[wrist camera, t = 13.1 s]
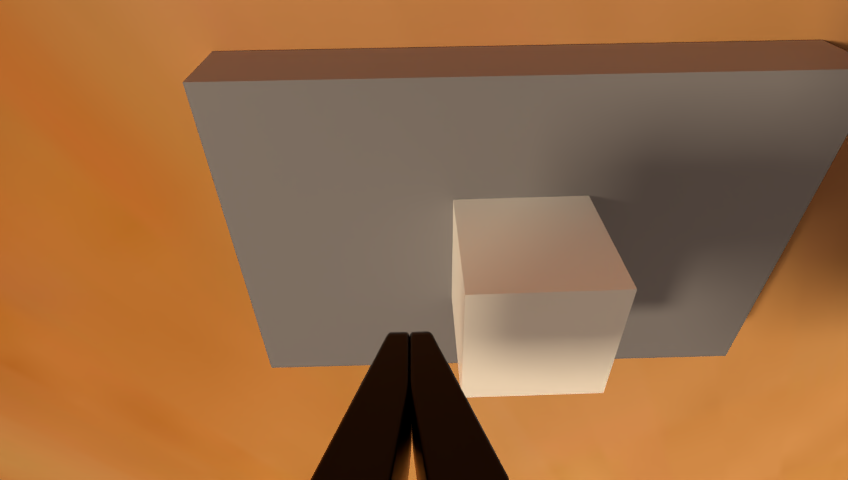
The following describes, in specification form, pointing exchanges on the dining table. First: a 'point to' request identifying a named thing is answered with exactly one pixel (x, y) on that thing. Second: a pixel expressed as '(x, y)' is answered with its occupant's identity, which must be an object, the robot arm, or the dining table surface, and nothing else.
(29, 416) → the dining table surface
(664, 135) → the socket plate
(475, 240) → the cream block
